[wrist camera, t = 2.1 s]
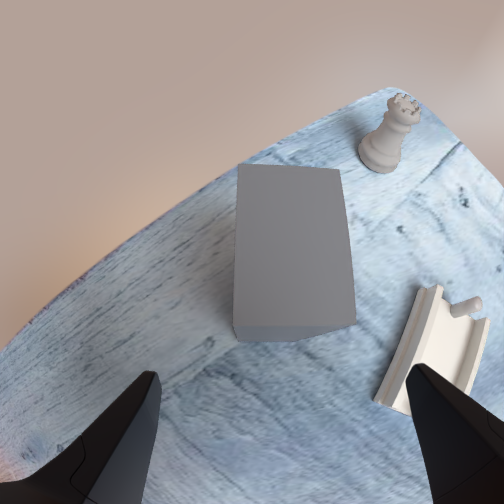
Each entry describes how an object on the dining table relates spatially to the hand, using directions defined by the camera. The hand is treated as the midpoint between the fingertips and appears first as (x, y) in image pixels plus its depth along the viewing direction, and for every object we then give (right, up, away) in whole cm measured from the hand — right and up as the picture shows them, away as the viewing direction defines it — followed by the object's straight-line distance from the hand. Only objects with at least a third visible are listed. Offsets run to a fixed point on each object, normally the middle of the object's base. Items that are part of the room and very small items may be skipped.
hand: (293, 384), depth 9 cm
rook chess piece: (+11, +14, +18) cm, 25 cm away
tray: (+14, -5, +11) cm, 18 cm away
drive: (0, +1, +12) cm, 12 cm away
